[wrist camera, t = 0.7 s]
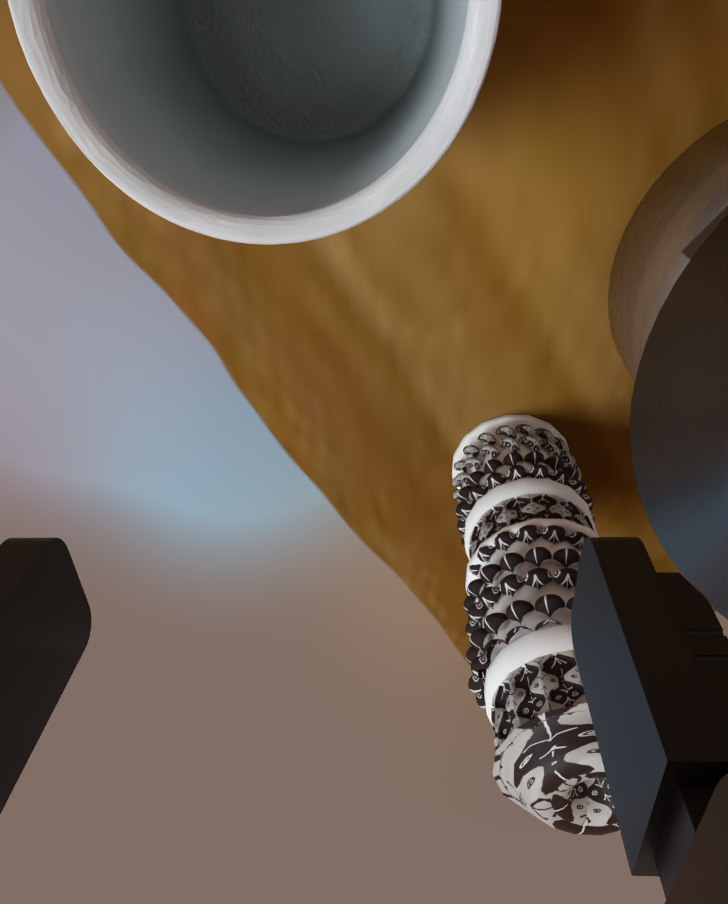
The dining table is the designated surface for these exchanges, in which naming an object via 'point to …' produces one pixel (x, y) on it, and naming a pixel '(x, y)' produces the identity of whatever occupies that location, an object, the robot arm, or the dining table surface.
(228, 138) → the utensil holder
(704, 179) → the cooker pot
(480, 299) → the dining table surface
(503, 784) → the decorative candle
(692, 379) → the cooker lid
